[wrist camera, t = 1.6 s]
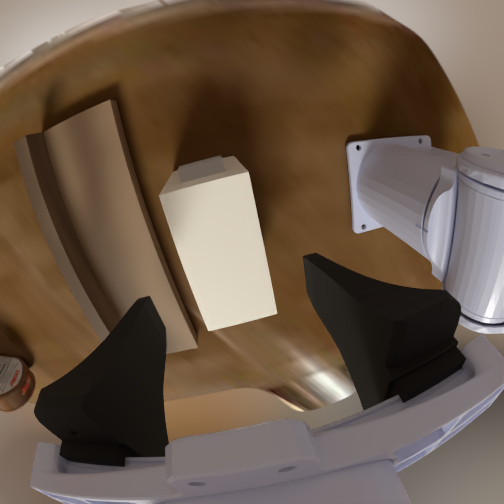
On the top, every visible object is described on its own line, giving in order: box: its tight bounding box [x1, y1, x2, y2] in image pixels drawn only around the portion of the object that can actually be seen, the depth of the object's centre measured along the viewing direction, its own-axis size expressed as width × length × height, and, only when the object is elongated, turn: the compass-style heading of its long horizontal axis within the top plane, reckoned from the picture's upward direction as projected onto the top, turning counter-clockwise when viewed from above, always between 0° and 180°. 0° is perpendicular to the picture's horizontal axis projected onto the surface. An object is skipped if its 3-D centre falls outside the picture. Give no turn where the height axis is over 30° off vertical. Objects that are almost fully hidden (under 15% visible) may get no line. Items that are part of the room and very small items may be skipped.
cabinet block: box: [159, 155, 277, 331], centre depth 18 cm, size 4×10×7 cm, turn 12°
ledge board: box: [14, 100, 198, 354], centre depth 19 cm, size 7×22×4 cm, turn 12°
